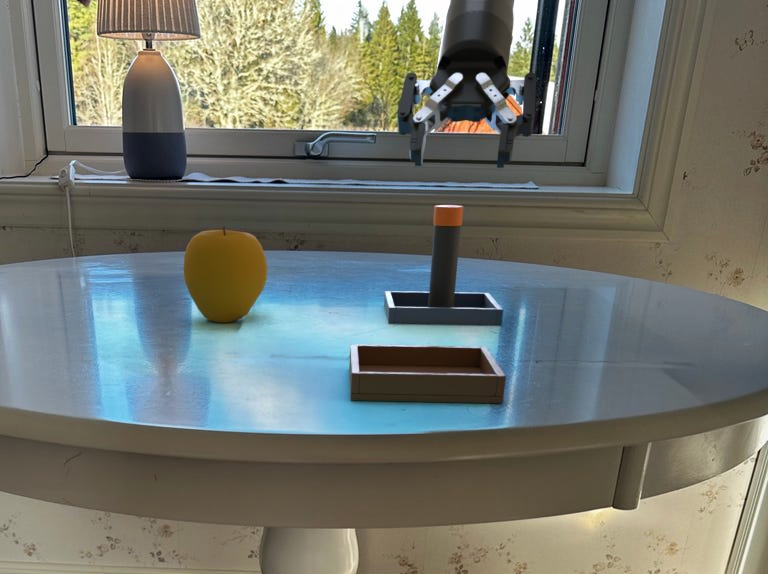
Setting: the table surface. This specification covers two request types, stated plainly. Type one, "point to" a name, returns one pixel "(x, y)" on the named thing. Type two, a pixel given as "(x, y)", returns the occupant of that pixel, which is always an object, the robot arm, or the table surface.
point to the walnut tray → (425, 374)
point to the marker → (445, 255)
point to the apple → (224, 273)
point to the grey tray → (442, 309)
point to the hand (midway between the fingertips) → (459, 161)
